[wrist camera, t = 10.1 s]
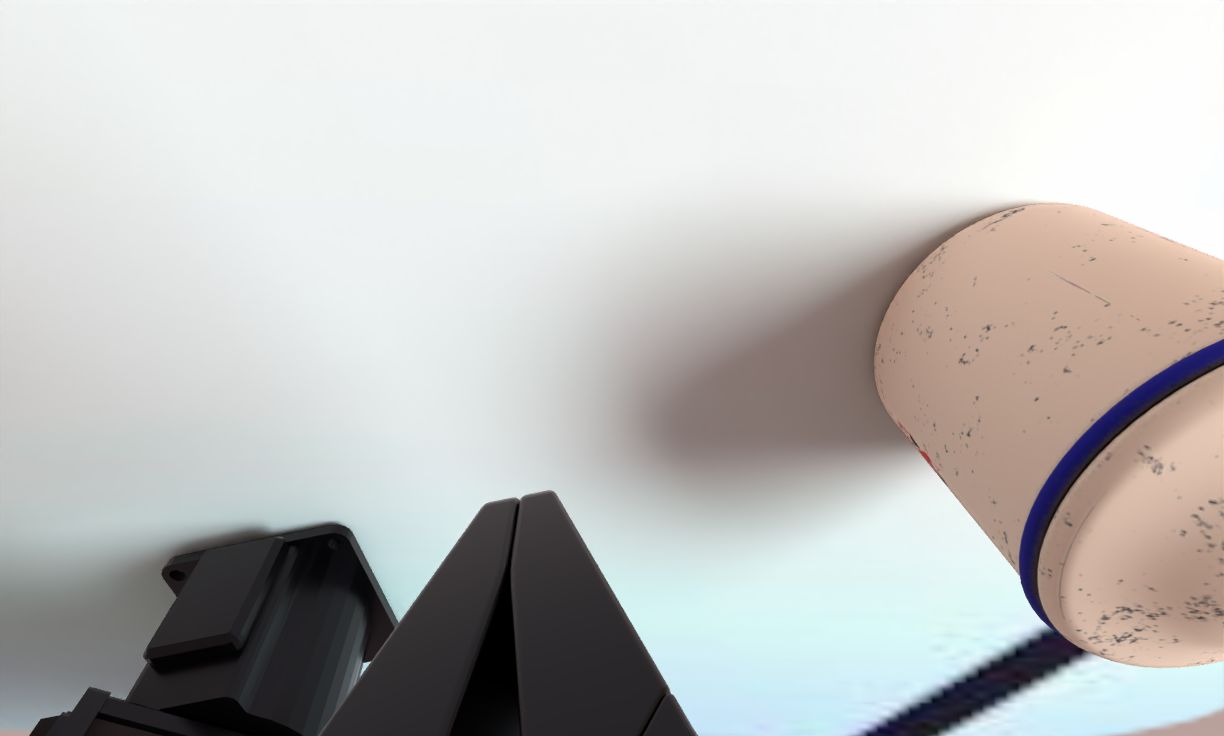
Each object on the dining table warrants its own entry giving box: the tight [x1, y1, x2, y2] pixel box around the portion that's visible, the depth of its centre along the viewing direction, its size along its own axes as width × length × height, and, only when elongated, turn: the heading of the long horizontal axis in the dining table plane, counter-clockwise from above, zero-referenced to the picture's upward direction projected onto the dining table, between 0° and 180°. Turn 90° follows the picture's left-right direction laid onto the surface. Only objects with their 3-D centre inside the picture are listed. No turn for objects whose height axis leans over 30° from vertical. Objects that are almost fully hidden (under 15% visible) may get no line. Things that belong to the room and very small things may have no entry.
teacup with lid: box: [874, 203, 1224, 668], centre depth 17 cm, size 12×9×12 cm
